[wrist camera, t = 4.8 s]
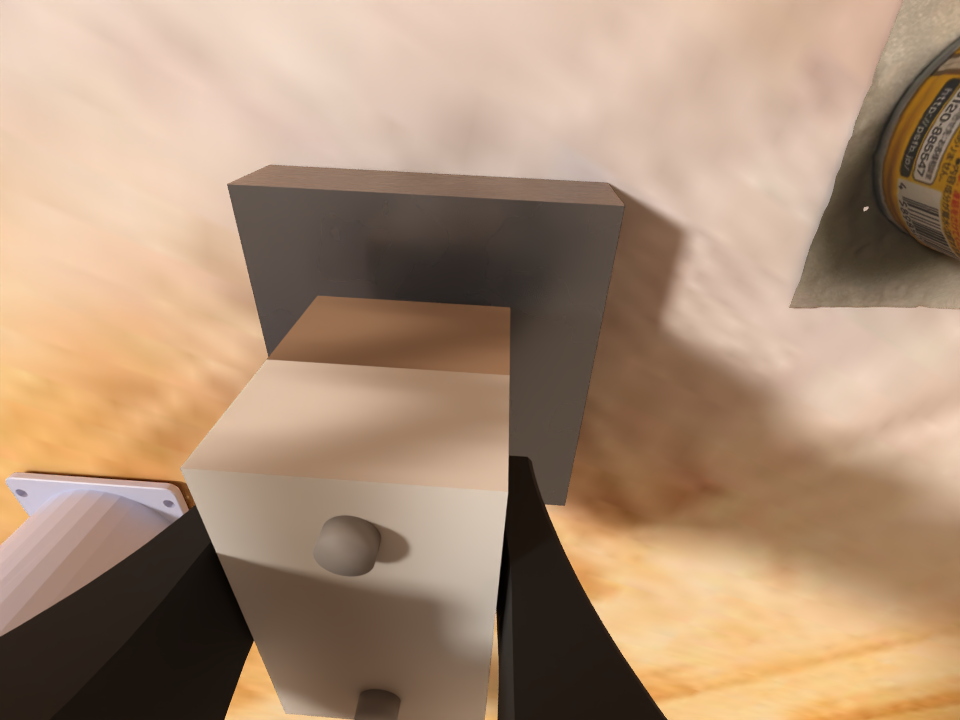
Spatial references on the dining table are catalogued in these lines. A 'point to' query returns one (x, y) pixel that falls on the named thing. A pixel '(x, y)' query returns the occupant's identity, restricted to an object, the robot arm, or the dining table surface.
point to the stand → (449, 271)
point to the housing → (368, 506)
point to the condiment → (898, 178)
